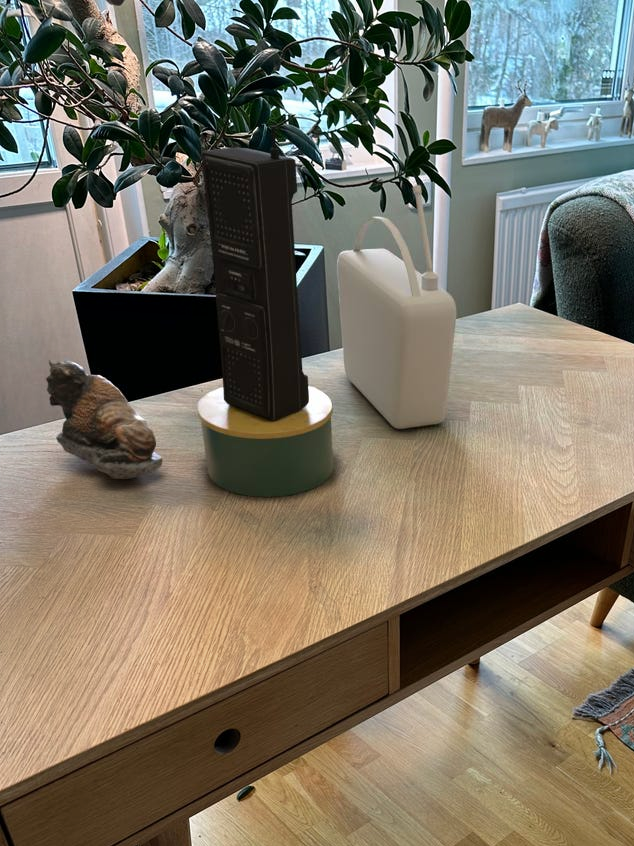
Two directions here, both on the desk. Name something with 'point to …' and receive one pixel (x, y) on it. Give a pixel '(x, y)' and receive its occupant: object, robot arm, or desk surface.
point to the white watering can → (396, 329)
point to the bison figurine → (101, 423)
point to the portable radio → (256, 278)
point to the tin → (267, 447)
